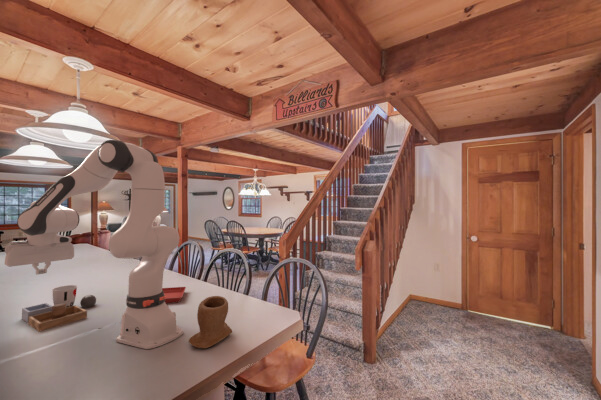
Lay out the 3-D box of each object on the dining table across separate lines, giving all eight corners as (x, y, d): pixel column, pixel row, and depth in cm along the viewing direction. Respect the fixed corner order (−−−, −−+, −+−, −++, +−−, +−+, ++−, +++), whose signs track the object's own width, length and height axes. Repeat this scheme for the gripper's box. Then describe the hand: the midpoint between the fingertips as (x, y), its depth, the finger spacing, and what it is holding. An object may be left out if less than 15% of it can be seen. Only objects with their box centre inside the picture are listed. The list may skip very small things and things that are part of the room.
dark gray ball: (98, 307, 121) (98, 294, 121) (83, 311, 116) (83, 298, 116) (92, 304, 124) (93, 292, 124) (77, 308, 119) (78, 295, 119)
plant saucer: (185, 292, 145) (186, 286, 145) (182, 303, 128) (182, 296, 128) (148, 295, 140) (149, 288, 140) (139, 307, 122) (139, 300, 123)
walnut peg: (67, 320, 105) (67, 304, 105) (53, 323, 102) (54, 308, 102) (63, 317, 107) (63, 302, 108) (49, 321, 104) (50, 305, 104)
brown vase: (208, 355, 83) (209, 307, 83) (183, 345, 89) (184, 300, 89) (241, 335, 96) (242, 294, 97) (217, 328, 102) (218, 289, 103)
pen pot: (52, 318, 108) (52, 306, 108) (27, 325, 102) (28, 312, 102) (45, 314, 112) (46, 302, 112) (21, 320, 106) (22, 308, 106)
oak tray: (86, 319, 108) (87, 310, 108) (38, 333, 95) (39, 323, 96) (74, 313, 114) (75, 305, 114) (28, 326, 101) (28, 316, 101)
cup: (61, 315, 112) (62, 291, 112) (46, 313, 113) (47, 289, 114) (80, 308, 120) (81, 285, 120) (66, 306, 121) (67, 284, 122)
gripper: (7, 242, 97) (5, 280, 97) (76, 237, 115) (75, 269, 114) (2, 241, 100) (1, 278, 100) (70, 236, 118) (69, 268, 117)
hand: (41, 273), depth 107 cm, fingers closed
